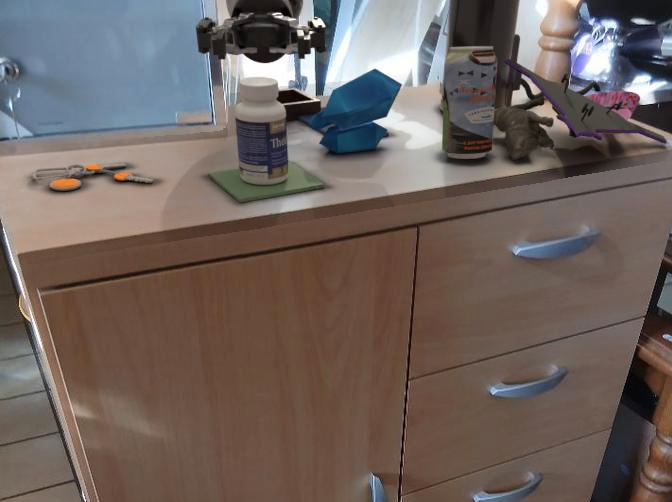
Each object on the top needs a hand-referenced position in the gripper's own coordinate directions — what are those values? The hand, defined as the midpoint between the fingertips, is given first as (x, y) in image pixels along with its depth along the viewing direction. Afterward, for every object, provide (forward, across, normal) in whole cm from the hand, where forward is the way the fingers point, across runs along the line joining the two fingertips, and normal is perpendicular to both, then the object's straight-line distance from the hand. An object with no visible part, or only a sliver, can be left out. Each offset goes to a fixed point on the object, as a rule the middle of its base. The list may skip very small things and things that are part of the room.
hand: (261, 48), depth 78 cm
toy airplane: (-4, +39, +5) cm, 39 cm away
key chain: (+3, -20, +12) cm, 23 cm away
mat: (+5, 0, +12) cm, 13 cm away
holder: (-24, +2, +12) cm, 27 cm away
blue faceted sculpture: (-7, +11, +12) cm, 18 cm away
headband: (-14, +45, +12) cm, 48 cm away
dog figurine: (-5, +35, +9) cm, 36 cm away
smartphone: (-18, +9, +13) cm, 24 cm away
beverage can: (-4, +24, +13) cm, 27 cm away
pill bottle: (+5, 0, +12) cm, 13 cm away
